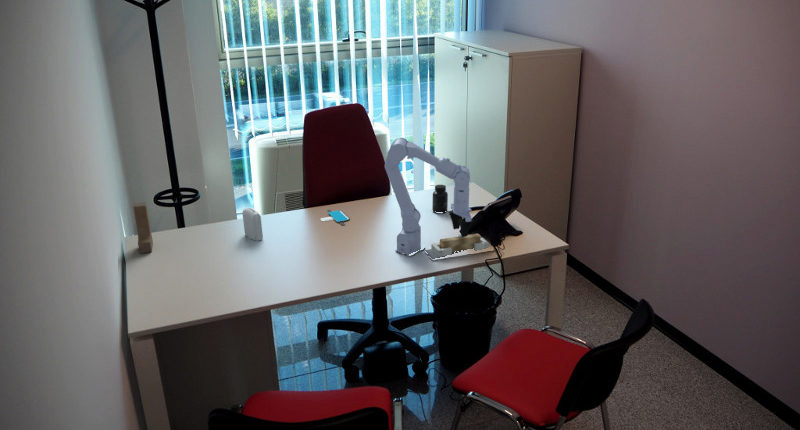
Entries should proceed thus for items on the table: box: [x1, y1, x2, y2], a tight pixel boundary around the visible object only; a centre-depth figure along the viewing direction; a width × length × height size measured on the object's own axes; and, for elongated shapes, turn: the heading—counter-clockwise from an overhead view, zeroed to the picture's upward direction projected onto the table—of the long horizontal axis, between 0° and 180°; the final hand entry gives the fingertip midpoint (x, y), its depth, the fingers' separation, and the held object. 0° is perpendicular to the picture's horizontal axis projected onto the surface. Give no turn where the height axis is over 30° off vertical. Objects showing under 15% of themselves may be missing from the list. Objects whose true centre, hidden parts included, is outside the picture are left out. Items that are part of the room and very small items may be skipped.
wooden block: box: [132, 201, 154, 254], centre depth 250 cm, size 9×4×18 cm, turn 16°
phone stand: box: [320, 209, 351, 226], centre depth 281 cm, size 20×12×2 cm, turn 25°
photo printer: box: [242, 207, 264, 242], centre depth 261 cm, size 10×4×12 cm, turn 39°
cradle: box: [424, 236, 490, 259], centre depth 247 cm, size 26×8×4 cm, turn 109°
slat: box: [439, 233, 482, 252], centre depth 247 cm, size 16×2×5 cm, turn 109°
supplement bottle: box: [431, 184, 449, 212], centre depth 286 cm, size 7×7×12 cm
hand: (460, 232), depth 245 cm, fingers open, 7 cm apart
